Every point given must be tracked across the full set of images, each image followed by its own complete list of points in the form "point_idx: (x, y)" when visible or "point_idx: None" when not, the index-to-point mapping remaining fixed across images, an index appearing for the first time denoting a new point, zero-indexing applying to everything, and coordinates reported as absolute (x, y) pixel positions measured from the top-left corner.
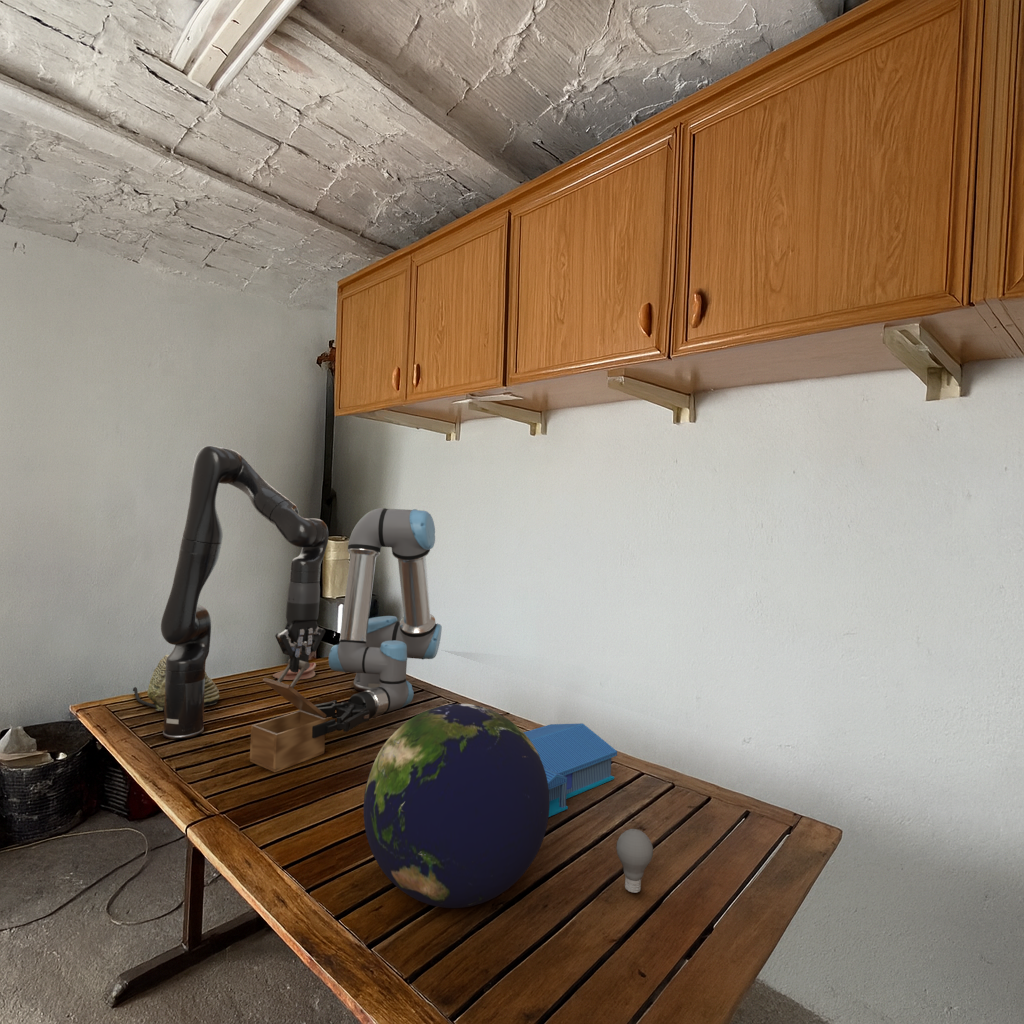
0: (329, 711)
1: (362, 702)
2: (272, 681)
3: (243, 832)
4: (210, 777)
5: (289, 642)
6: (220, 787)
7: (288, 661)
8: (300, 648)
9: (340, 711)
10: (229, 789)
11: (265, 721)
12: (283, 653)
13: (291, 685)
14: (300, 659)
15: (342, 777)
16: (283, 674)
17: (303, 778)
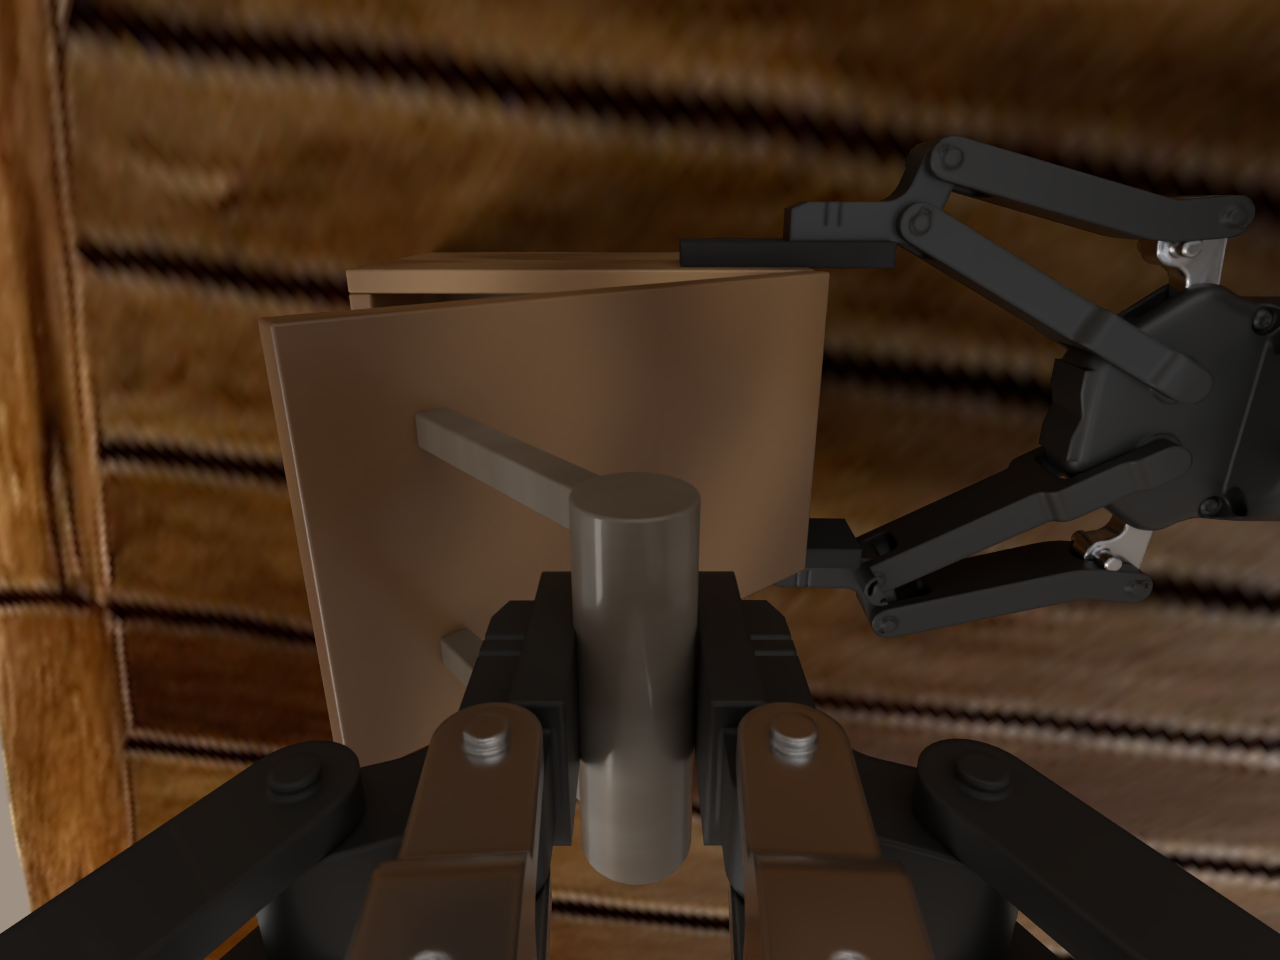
0: (1038, 325)
1: (1247, 492)
2: (297, 511)
3: (128, 765)
4: (189, 272)
5: (362, 941)
6: (188, 412)
7: (569, 506)
8: (744, 790)
9: (1073, 401)
10: (212, 460)
11: (466, 279)
12: (269, 766)
13: (456, 668)
14: (700, 679)
15: None
16: (484, 479)
17: None
